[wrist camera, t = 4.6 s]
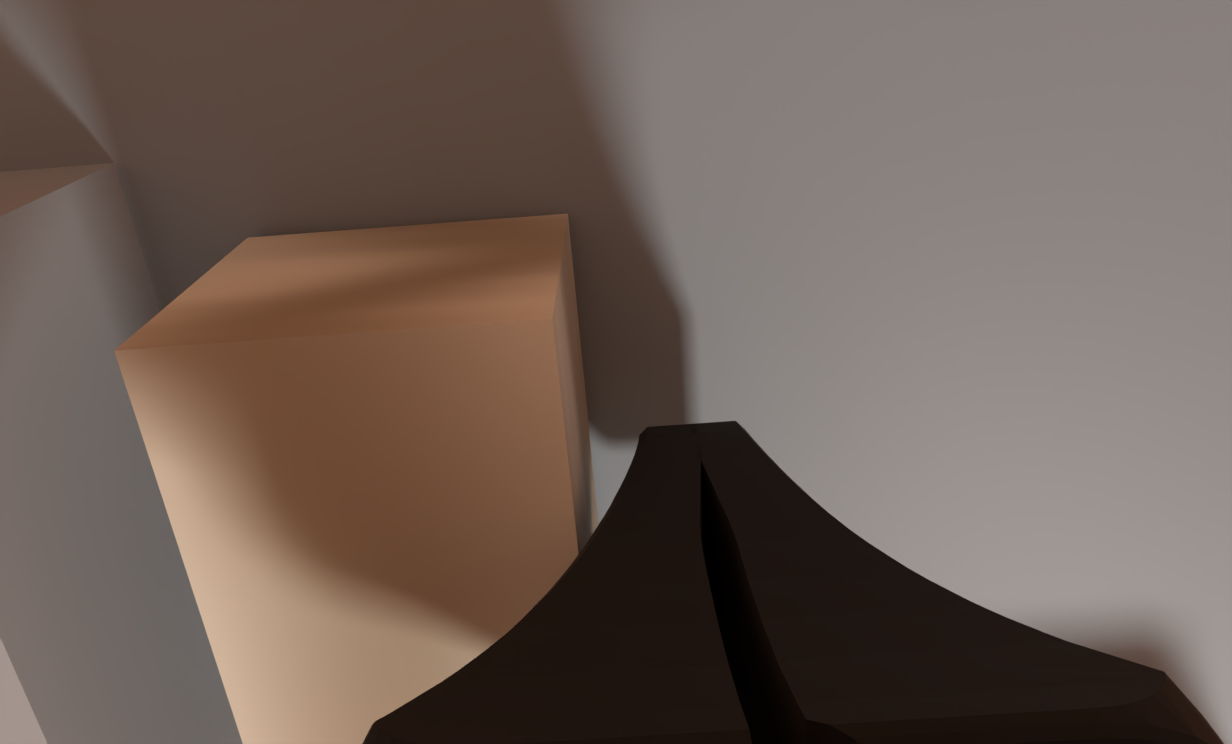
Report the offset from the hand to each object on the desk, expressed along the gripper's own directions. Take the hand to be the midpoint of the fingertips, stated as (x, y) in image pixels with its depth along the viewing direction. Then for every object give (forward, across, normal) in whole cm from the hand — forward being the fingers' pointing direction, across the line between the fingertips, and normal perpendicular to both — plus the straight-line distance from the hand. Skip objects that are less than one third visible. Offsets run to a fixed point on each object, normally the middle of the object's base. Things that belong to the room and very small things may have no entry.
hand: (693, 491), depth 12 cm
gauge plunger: (+1, +3, +2) cm, 4 cm away
